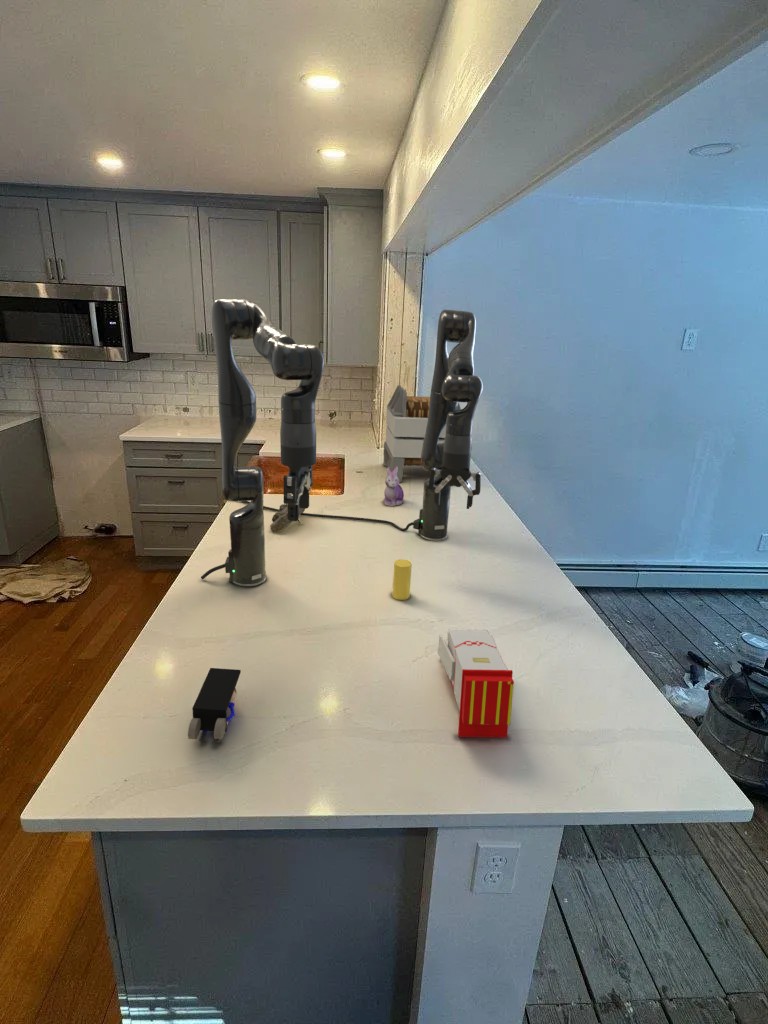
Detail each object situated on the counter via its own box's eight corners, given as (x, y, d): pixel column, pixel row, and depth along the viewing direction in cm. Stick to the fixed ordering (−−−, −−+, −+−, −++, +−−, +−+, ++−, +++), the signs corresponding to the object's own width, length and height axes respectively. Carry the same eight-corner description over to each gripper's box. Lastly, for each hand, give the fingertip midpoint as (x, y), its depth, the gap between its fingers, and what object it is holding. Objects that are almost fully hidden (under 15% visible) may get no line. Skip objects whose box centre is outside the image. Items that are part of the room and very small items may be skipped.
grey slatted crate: (382, 463, 289) (386, 382, 275) (445, 464, 293) (451, 384, 279) (390, 482, 257) (394, 392, 243) (460, 483, 261) (468, 394, 247)
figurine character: (226, 757, 100) (244, 694, 114) (223, 726, 97) (241, 665, 110) (188, 756, 100) (210, 694, 114) (183, 725, 97) (207, 664, 110)
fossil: (276, 500, 214) (305, 479, 209) (292, 519, 217) (322, 499, 212) (259, 527, 195) (291, 505, 190) (277, 547, 198) (310, 526, 193)
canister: (411, 599, 155) (413, 566, 152) (393, 600, 154) (395, 567, 151) (407, 591, 160) (409, 559, 156) (390, 591, 159) (392, 559, 155)
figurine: (388, 507, 225) (390, 471, 220) (377, 500, 233) (378, 464, 228) (409, 505, 229) (411, 469, 224) (397, 497, 238) (399, 462, 232)
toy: (488, 613, 130) (523, 677, 101) (484, 667, 133) (517, 744, 104) (435, 612, 130) (455, 676, 101) (432, 666, 133) (451, 743, 103)
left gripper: (306, 451, 113) (306, 526, 118) (323, 436, 126) (323, 505, 132) (270, 448, 114) (272, 523, 119) (291, 434, 127) (291, 502, 133)
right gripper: (429, 450, 153) (425, 507, 158) (482, 455, 149) (477, 513, 155) (433, 445, 159) (430, 500, 165) (484, 449, 156) (479, 505, 161)
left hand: (299, 513), depth 125 cm, fingers open, 8 cm apart
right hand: (452, 506), depth 160 cm, fingers open, 8 cm apart
